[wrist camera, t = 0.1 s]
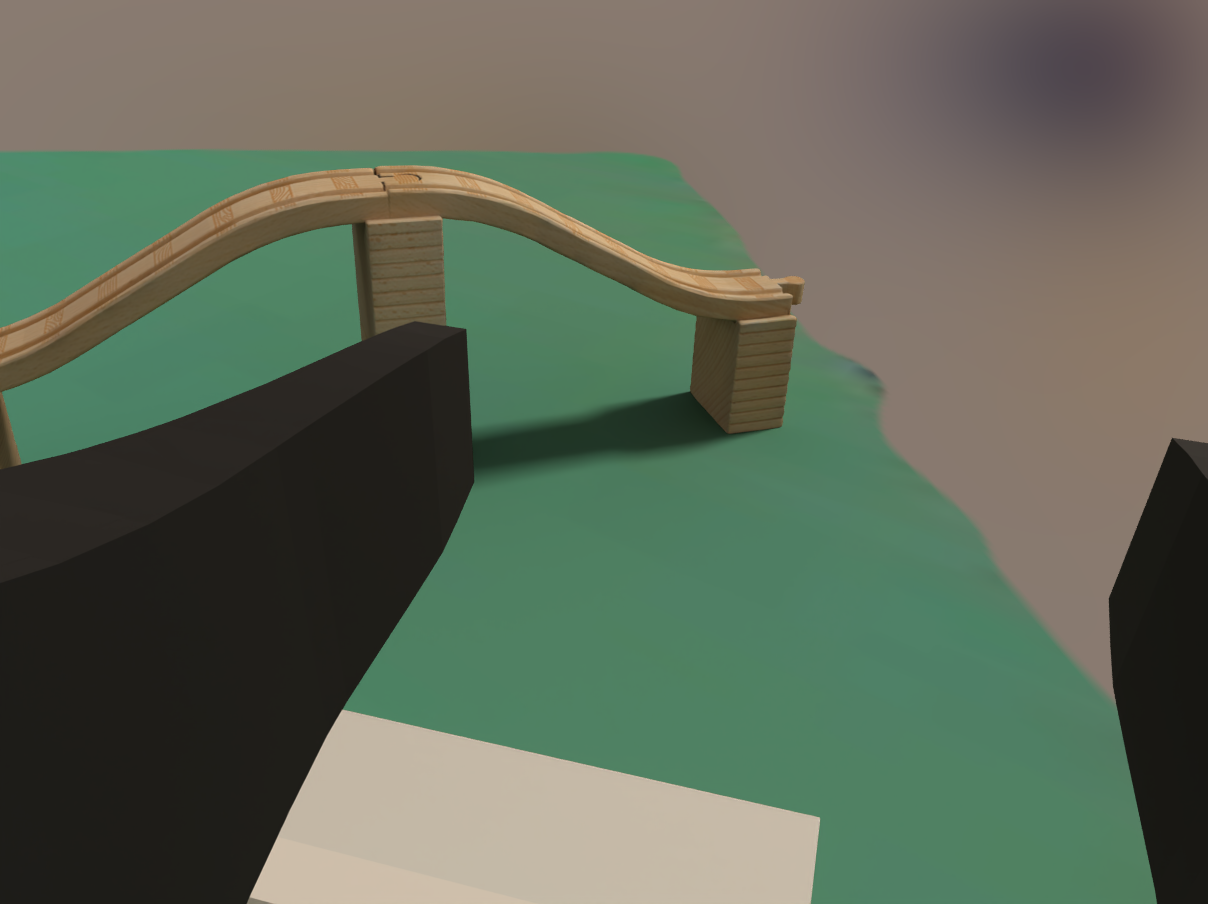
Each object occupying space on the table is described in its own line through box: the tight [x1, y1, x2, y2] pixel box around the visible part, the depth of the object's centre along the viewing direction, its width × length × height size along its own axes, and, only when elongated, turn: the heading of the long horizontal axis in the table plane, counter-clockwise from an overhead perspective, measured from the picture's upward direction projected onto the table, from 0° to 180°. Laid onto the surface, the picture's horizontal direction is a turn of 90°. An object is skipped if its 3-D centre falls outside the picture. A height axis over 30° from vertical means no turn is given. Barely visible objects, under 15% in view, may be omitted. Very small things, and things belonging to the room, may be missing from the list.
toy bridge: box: [0, 166, 805, 469], centre depth 50 cm, size 42×6×14 cm, turn 110°
